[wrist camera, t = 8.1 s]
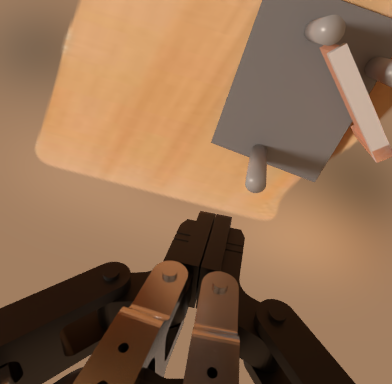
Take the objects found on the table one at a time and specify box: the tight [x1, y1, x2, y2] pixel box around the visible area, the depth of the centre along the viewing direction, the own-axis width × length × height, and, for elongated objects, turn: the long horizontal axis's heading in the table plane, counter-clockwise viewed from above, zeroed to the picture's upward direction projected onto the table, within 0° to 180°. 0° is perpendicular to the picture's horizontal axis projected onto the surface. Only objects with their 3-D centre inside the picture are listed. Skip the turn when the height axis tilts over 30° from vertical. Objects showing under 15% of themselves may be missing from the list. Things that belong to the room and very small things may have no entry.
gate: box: [320, 43, 392, 163], centre depth 27 cm, size 10×1×8 cm, turn 33°
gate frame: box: [211, 0, 392, 193], centre depth 29 cm, size 18×14×10 cm
